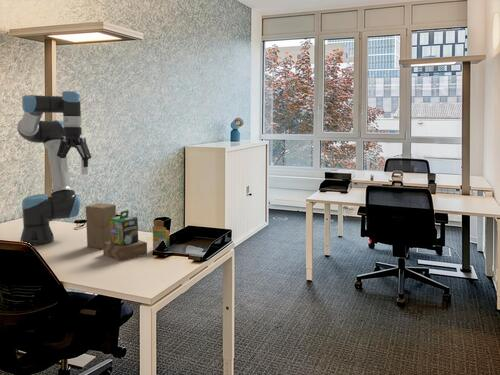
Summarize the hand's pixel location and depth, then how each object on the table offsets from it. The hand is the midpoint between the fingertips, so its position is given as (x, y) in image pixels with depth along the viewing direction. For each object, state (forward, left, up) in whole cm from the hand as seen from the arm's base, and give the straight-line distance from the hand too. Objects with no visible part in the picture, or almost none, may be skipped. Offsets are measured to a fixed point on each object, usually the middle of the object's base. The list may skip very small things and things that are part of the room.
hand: (74, 173), depth 208 cm
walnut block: (+23, +8, -37) cm, 44 cm away
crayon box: (+32, +22, -37) cm, 53 cm away
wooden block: (+2, +12, -37) cm, 39 cm away
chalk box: (+22, +8, -31) cm, 39 cm away
